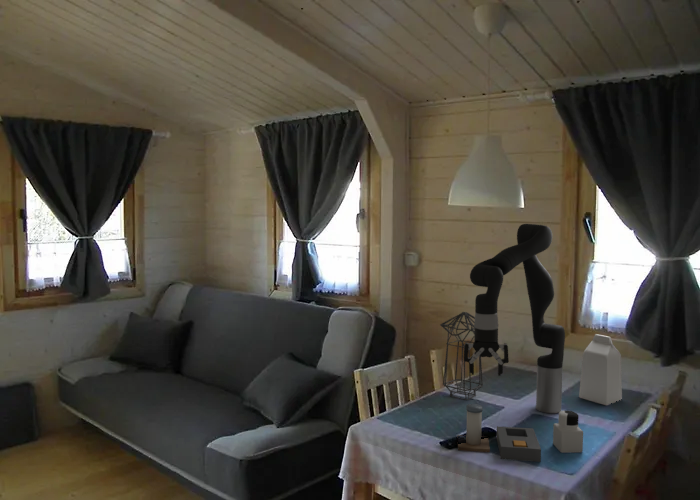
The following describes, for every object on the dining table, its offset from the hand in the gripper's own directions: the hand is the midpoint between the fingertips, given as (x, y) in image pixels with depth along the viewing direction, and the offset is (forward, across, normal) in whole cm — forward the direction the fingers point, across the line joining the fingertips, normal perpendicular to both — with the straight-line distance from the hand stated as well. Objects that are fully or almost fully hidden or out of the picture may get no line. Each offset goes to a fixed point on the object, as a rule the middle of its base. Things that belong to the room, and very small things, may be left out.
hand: (485, 374), depth 196 cm
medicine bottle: (+24, -26, 0) cm, 35 cm away
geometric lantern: (+24, +7, -48) cm, 54 cm away
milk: (+25, -48, -54) cm, 77 cm away
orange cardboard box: (+23, -10, +9) cm, 27 cm away
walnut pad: (+23, +4, +3) cm, 24 cm away
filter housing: (+23, -10, +4) cm, 26 cm away
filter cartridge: (+22, +4, +3) cm, 23 cm away
